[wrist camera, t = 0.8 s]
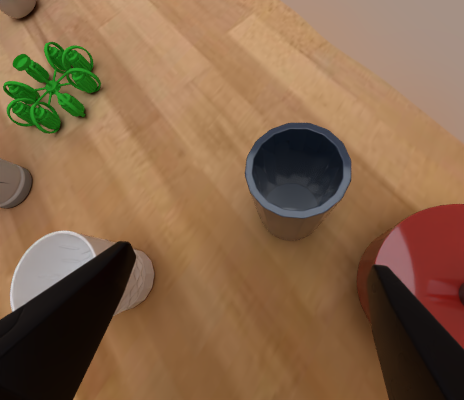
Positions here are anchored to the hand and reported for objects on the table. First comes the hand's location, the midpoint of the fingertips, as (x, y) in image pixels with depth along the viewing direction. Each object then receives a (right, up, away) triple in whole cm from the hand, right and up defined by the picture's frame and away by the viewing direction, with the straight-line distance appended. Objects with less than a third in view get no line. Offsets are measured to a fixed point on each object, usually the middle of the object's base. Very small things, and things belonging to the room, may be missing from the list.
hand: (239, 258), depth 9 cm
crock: (+6, +1, +18) cm, 19 cm away
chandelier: (-27, +18, +30) cm, 44 cm away
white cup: (-12, -7, +20) cm, 24 cm away
